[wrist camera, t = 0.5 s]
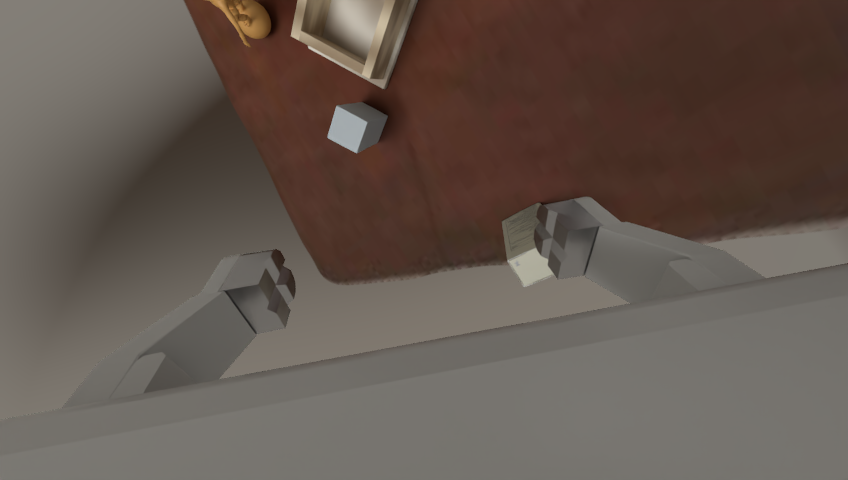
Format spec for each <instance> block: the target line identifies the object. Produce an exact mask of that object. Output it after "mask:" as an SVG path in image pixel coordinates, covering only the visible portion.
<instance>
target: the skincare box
mask: <svg viewBox="0 0 848 480" xmlns="http://www.w3.org/2000/svg"><path fill="white" fill-rule="evenodd" d="M540 205H541V203H536V204H534V205H532V206H530V207H528V208H526V209H524V210H522V211H520V212H518V213H516V214H515V215H513V216H511V217H509V218H507V219H505V220H504V221H502V227H503V233H504V240H505V247H506V254H507V261H508V263H509V265H510V266H511V268H512V270H513V271H514V273H515V275H516V276H517V278H518V279H519V280H520V282H521V284H522V285H523V286H524V287H526V286H528V285H531V284H534V283H537V282H539V281H542V280H544V279H547V278H549V277H551V276H554V274H553V272H552V271H551V269H550V268H549V267H548V259H546V258H544V257H542V256H541V255H540V254H539V252H538V251H537V249H536V246H535V241H534V230H535V228H536V226H537V225H538V224H539V223H540V221H539V220H538V219H537V217H536V215H537V210H538V208H539V206H540Z"/></svg>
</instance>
